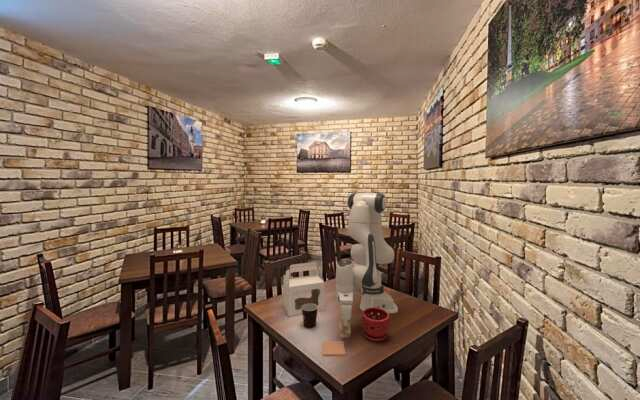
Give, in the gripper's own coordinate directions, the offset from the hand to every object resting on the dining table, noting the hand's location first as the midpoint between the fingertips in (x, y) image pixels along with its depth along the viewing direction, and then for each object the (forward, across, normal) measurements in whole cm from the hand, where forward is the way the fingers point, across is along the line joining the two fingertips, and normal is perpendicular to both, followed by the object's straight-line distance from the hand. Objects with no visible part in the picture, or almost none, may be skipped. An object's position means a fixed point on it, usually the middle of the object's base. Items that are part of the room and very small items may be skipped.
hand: (344, 320), depth 141 cm
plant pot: (+8, +1, +15) cm, 17 cm away
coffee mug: (+8, -9, -18) cm, 21 cm away
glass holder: (+6, -54, +9) cm, 55 cm away
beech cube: (+8, -1, 0) cm, 8 cm away
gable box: (+7, -30, -22) cm, 38 cm away
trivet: (+8, +11, -6) cm, 15 cm away
